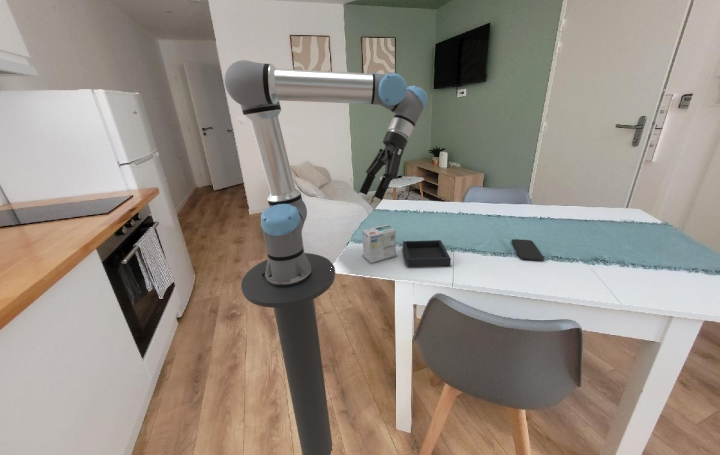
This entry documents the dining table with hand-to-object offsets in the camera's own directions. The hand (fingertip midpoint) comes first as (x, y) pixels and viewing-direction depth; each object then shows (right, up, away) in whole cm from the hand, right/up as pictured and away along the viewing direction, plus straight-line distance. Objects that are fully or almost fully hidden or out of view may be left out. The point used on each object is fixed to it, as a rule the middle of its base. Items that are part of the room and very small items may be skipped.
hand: (369, 195), depth 95 cm
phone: (+58, -19, +11) cm, 62 cm away
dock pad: (+20, -21, +10) cm, 31 cm away
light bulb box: (+4, -21, +12) cm, 25 cm away
